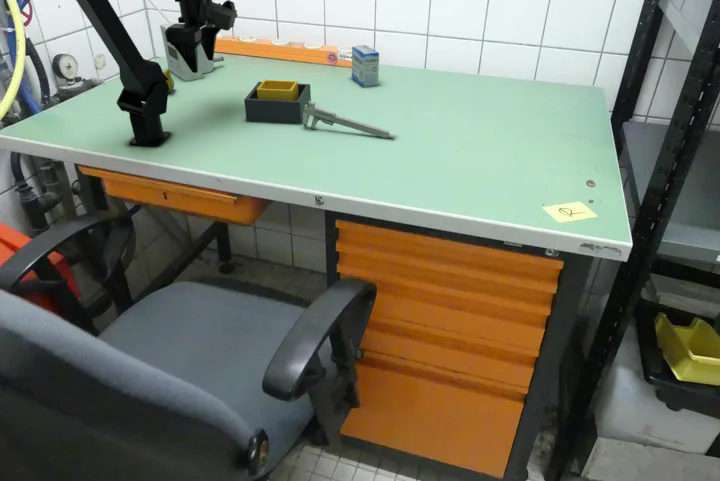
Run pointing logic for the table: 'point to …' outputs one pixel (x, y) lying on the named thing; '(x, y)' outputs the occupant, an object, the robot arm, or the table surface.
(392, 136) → the caliper
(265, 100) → the big bin
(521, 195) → the table surface
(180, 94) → the table surface
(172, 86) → the yellow ridged cone
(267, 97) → the small bin
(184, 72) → the grey machine part
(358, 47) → the medicine box
